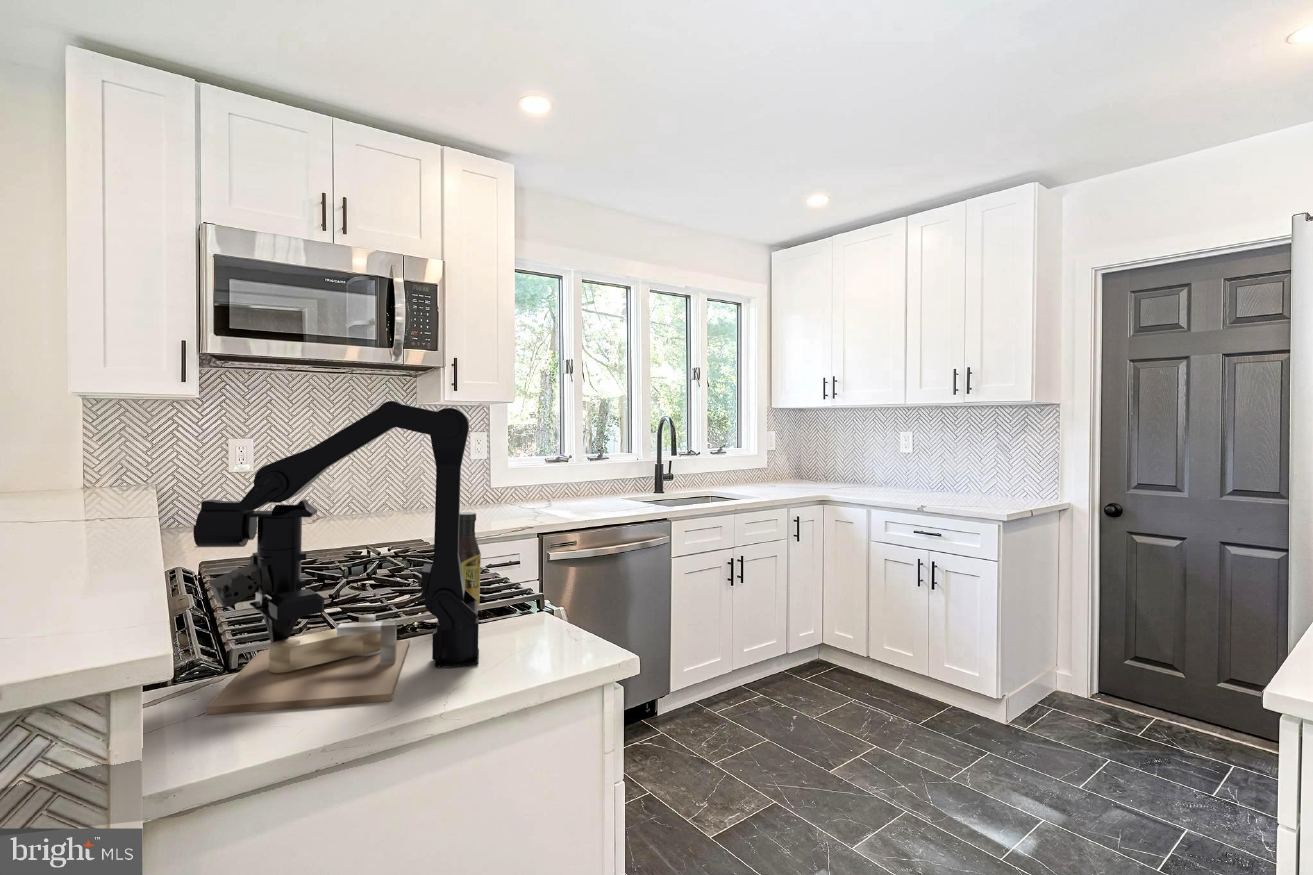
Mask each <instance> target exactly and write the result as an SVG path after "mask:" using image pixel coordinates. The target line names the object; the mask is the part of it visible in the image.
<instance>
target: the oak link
mask: <svg viewBox="0 0 1313 875" xmlns="http://www.w3.org/2000/svg"><path fill="white" fill-rule="evenodd" d="M375 622H378V621H377V620H375ZM380 644H381V634H362V635H343V636H337V628H333V629H328V630H323V631H319V632H314V633H309V634H304V635H299V636H294V637H289V638H288V639H284V640H279V641H276V642H273V643H271V642H270V644H269V646H268V648H269V671H270V672H274V673H283V672H289V671H293V670H297V669H301V668H305V667H310V666H314V665H318V664H322V663H326V662H330V661H334V660H338V659H342V658H347V657H351V656H355V655H359V654H363V653H372V652H376V651H379V650H380Z"/></svg>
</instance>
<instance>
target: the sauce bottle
mask: <svg viewBox="0 0 1313 875" xmlns="http://www.w3.org/2000/svg"><path fill="white" fill-rule="evenodd" d="M476 521H477V513H476V512H472V511H461V512H460V517H459V556H460V561H461V566H462V572H463V579H464V585H465V590H466V591H468V592H469V593H470V594H471V595H472V596H473V597H474V598H475V599H476V600H477V601H478V605H477V608H478V609H479V608H480V597H481V596H480V594H481V590H480V588H481V564H482V563H481V562H482V556H481V555H482V552H481V551H480V550H481V549H480V547H479V543H478V540H477V537H476V530H475V529H476ZM478 614H479V610H478V611H477V615H478Z"/></svg>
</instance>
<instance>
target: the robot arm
mask: <svg viewBox="0 0 1313 875" xmlns="http://www.w3.org/2000/svg"><path fill="white" fill-rule="evenodd" d="M396 428H397V429H403V430H405V431H411V432H415V433H419V434H424V435H429V436H430V441H431V442H430V443H431V448H432V453H433V458H434V462H435V469H436V470H435V475H436V476H435V505H434V507H435V508H434V510H435V511H434V535H433V536H434V540H433V541H434V542H433V558H432V564H431V563H423V566H422V569H421V571H420V576H421V584H422V591H421V594H420V596H419V599H420V600H422V599H423V601H424V607H425V609H426V611H428V612H429V613H430V614H431V615H432V616H434V617H435V618H437V622H436V628H435V629H433V632H432V644H431V646H432V648H431V649H432V650H431V651H432V652H431V655H432V656H431V657H432V658H431V659H432V661H434V668H451V667H466V666H467V667H468V666H477V665H479V663H480V662H479V660H480V659H479V658H480V649H479V627H480V625H479V620H480V619H479V618H480V617H479V616H478V614H477V605H478V601H477V600H476V599H475V598H474V597H473V596H472V595H471V594H470V593H469V592H468V591H466V590H465V585H464V579H463V572H462V566H461V561H460V556H459V517H460V511H461V483H462V481H461V479H462V478H461V476H462V475H461V474H462V464H463V460H464V455H465V451H466V445H467V441H468V437H469V432H470V421H469V418H468V417H467V415H466V414H465V413H464V412H463V411H461V410H460V409H457V408H452V407H445V408H441V409H440V410H436V411H435V410H432V409H431V410H430V409H426V408H423V407H422V408H421V407H418V406H417V407H416V406H412V405H408V404H404V403H402V402H399V401H395V400H389V401H386V402H383V403H381V405H380V406H379V407H378V408H377V409H374V410H373V411H371V412H370V413H369V414H366V415H364V416H362V418H360V419H358V420H356V421H354V422H353V423H351V424H349V425H347V426H346V427H344V428H343V429H341V430H339V431H337V432H336V433H334V434H332V435H331V436H329V437H328V438H326V439H323V440H322V441H321V442H319V443H317V444H316V445H314V446H311V448H308V449H305V450H303V451H299V452H297V453H295V454H291V455H289V456H286V457H283V458H280V459H279V460H276V461H273V462H271V463H268V464H265V465H263V466H262V467H261V468H259V469H258V470H257V471H256V472H255V475H254V480H253V487H251V489H250V490H249V491H248V492H247V493H246V494H245V496H244V497H243V498H242V499H241V500H219V499H207V500H203V501H201V503H200V510H199V512H198V515H197V516H196V520H195V524H194V525H193V532H192V534H193V540H194V541H193V542H194V544H195V545H196V546H197V547H198V548H243V547H246V545H247V544H248V543H249V541H253V540H254V539H255V537H256V535H257V537H256V538H257V543H256V544H257V545H256V546H257V548H256V552H252V555H250V557H249V560H250V561H249V564H247V565H244V566H242V567H239V568H237V569H233V570H232V571H229V572H226V573H225V574H222V575H220V576H218V577H215V578H213V579H211V580H210V581H209V582H208V585H209V586H210V590H211V591H212V593H213V595H214V598H215V600H216V602H217V604H220V605H221V606H222V607H223V608H229V607H231V606H232V607H233V606H234V605H236V604H237V603H238V602H239V601H242V600H244V599H246V598H248V597H250V596H253V595H254V594H255V601H252V602H249V606H250V607H252V608H254V610H256V611H257V612H259V613H260V614H262V616H263V620H264V623H265V627H266V629H267V634H268V638H269V641H270V644H271V643H273V642H276V641H279V640H284V639H289V638H290V635H291V634H292V631H293V630H294V628H295V626H296V625H297V623H298V621H299V619H301V617H307V616H311V615H317V614H318V615H319V614H322V613H324V612H325V598H324V597H323V596H321V595H320V594H319V593H318V592H316V591H314V590H312V589H310V588H307V587H306V584H307V583H306V582H307V580H305V579H303V578H302V562H303V561H307V553H306V552H304V551H302V542H303V540H302V539H303V538H302V536H303V534H302V532H303V523H302V522H303V518H312V517H313V516H314V515H316V514H317V513H318V509H317V508H315V507H314V506H312V505H311V504H310V503H309V502H308V500H307V499H302V500H300V501H299V502H298V503H297V504H277V503H282V502H283V503H284V502H285V501H288V500H290V499H292V498H294V497H297V496H298V495H300V494H301V493H302V492H303V491H305V490H306V489H307V488H308V487H310V486H311V485H312V484H313V483H315V481H316V480H317V479H319V477H321V475H323V474H324V473H325V472H326V471H327V470H328V469H330V468H331V467H332V466H333V465H335V464H337V463H338V462H340V461H342V460H343V459H345V458H346V457H348V456H350V455H352V454H353V453H355V452H357V451H358V450H360V449H362V448H363V447H365V446H367V445H368V444H370V443H372V442H374V441H375V440H377V439H378V438H381V436H383V435H385V434H386V433H388V432H390V431H392V430H393V429H396ZM271 503H275V505H274V507H273V509H271V510H257V509H259V508H262V507H264V506H266V505H270V504H271Z"/></svg>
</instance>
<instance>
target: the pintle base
mask: <svg viewBox="0 0 1313 875" xmlns="http://www.w3.org/2000/svg"><path fill="white" fill-rule="evenodd" d="M375 621H376V614H373V613H370V614H369V613H368V614H362V615H359V617H358V622H345V623H339V624H338V626H337V628H336V629H337V636H343V635H362V634H381V644H380V650H379V651H376V652H372V653H363V654H359V655H355V656H351V657H347V658H342V659H338V660H334V661H330V662H326V663H322V664H318V665H314V666H310V667H305V668H301V669H297V670H293V671H289V672H283V673H274V672H270V671H269V649H268V650H264V651H260V650H259V651H258V652H257V653H256V654H255V655H254V656H253V657H252V658H251V660H249V661H248V663H247V664H246V665H245V666H244V667H243V668H242V669H241V670H240V671H239V672H238V673H237V674H236V675H235V676H234V678H232V679H231V681H230V682H228V683H227V685H226V686H225V687H224V688H223V689H221V691H220V692H219V693H218V694H217V695H216V696H215V697H214V698H213V699H212V700H211V702H210V703H208V705H206V708H205V709H206V710H205V711H206V712H205V713H206V716H209V715H221V714H233V713H234V714H235V713H245V712H246V713H247V712H260V711H261V712H262V711H272V710H273V711H274V710H288V709H301V708H303V709H304V708H314V707H315V708H316V707H326V706H327V707H329V706H341V705H354V704H355V705H357V704H368V703H381V702H382V703H383V702H391V701H392V700H393V697H394V693H395V691H396V688H397V685H398V682H399V678H400V677H401V672H402V670H403V667H404V664H405V660H406V658H407V655H408V651H409V649H410V645H411V644H410V639H404V640H402V639H401V640H397V630H398V626H397V625H398V624H397V620H387V621H377V622H375Z"/></svg>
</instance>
